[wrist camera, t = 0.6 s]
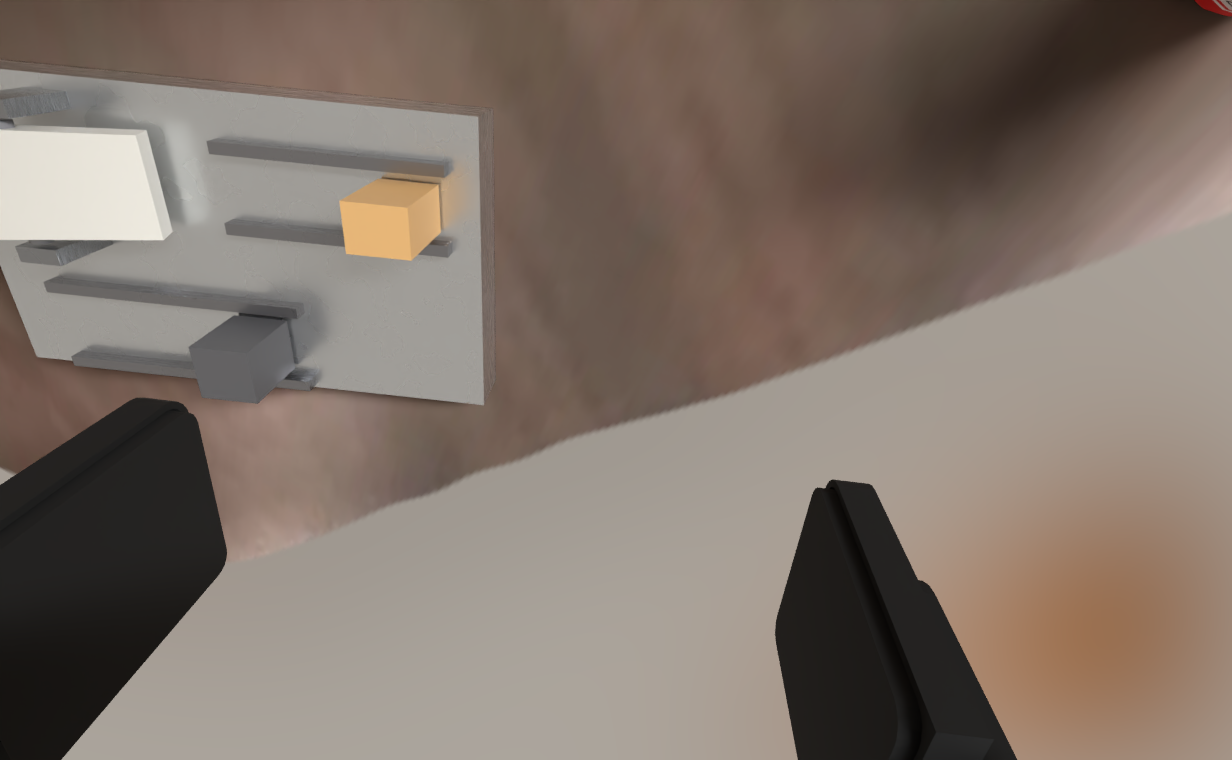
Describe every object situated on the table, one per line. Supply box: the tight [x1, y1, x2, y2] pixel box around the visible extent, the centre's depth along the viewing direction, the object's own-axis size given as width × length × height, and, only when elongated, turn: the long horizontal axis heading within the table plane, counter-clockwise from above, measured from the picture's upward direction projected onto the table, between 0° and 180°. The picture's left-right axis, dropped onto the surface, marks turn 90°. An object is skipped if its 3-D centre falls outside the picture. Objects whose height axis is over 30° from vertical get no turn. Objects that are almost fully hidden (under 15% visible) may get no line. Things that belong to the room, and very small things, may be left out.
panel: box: [0, 60, 496, 405], centre depth 35 cm, size 16×27×6 cm, turn 85°
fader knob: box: [188, 315, 295, 404], centre depth 35 cm, size 3×3×4 cm
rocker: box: [0, 118, 173, 245], centre depth 31 cm, size 6×11×1 cm, turn 85°
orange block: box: [339, 179, 441, 261], centre depth 31 cm, size 2×3×4 cm
